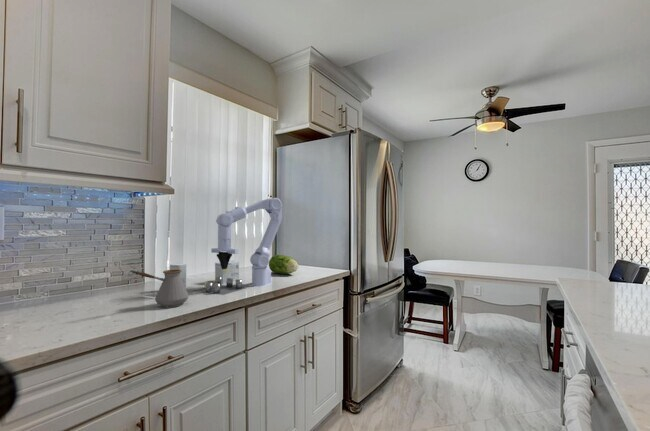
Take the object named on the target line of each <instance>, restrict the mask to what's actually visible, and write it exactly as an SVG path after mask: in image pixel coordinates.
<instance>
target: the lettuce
mask: <svg viewBox="0 0 650 431" xmlns="http://www.w3.org/2000/svg"><path fill="white" fill-rule="evenodd" d="M268 267H269V268H270V270H271V273H274V274H278V273H279V274H280V275H288V274H292V273H295V272H297V271H298V269H299V264H298V262H297V261H296V260H295V259H294V258H293V257H291V256H287V255H284V254H274V255H273V256H271V258H269V264H268ZM279 274H278V275H279Z"/></svg>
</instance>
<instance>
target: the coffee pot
mask: <svg viewBox="0 0 650 431" xmlns="http://www.w3.org/2000/svg"><path fill="white" fill-rule="evenodd" d="M181 271H182V270H170V269H166V270H164V271H162V273H163V274H164V277H160V276H155V275H152V274H149V273H146V272H142V271H141V272H140V271H139V270H138V271H135V270H130V271H129V272H128V273H127V276H128V277H132V276H133V274H135V275H139V276H141V277H145V278H149V279H154V280H158V281H162V283H161V285H160V287H159V288H158V292H157V293H156V295H155V298H154V301H155V302H156V304H158V305H159V306H160V307H161V308H175V307H180V306H183V304H184V303H185V302H186V301H188V299H189V296H190V295H189V293H188V291H187V288H186V289H185V286H184V284H183V282H182V280H181V278H180V272H181ZM130 273H131V275H129V274H130Z"/></svg>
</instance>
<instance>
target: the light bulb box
mask: <svg viewBox="0 0 650 431" xmlns="http://www.w3.org/2000/svg"><path fill="white" fill-rule="evenodd" d="M216 277H222V285H224V284H227V278H233V283H234V282H235V283H236V280H238V279H240V260H229V263H228V266H227V269H222V268H221V264H220V261H219V262H218V261H217V262H215V263H214V281H216Z"/></svg>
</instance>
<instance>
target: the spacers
mask: <svg viewBox="0 0 650 431" xmlns="http://www.w3.org/2000/svg"><path fill="white" fill-rule="evenodd" d="M216 281H217V283H214V284H213V282H207V283H206V294H211V293H210V292H213V293H214V294H213V295H219V294H218V293H220V286H222V285H223V284H222V277H216ZM233 285H234V282H233V278H227V283H226V286H227V288H230V287H234V286H233ZM235 287H236V289H242V288H243V280H242V279H241V278H239V279H238V280H236V281H235ZM242 290H243V289H242Z"/></svg>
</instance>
